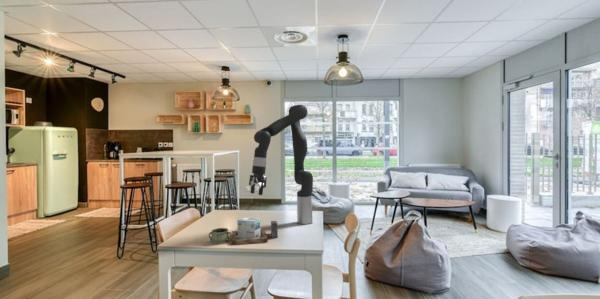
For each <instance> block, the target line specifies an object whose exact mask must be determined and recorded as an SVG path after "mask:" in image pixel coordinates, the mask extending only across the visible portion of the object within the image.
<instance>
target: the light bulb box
mask: <svg viewBox="0 0 600 299" xmlns="http://www.w3.org/2000/svg"><path fill="white" fill-rule="evenodd" d="M260 229H261V218H257V217H254V218H253V217H241V218H239V219H237V231H238V235H237V239H250V238H262V234H261V232H260Z"/></svg>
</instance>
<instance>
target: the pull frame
mask: <svg viewBox="0 0 600 299" xmlns="http://www.w3.org/2000/svg"><path fill="white" fill-rule="evenodd" d="M278 228H279V227H278V221H277V220H271V221H270V233H267V232H266V229H262V228H260V232H261V238H250V239H238V238H237V237H238V230H233V231H232V232H231V234H232V236H231V245H233V246H234V245H235V246H236V245H248V244H249V245H250V244H262V243H263V244H265V243H268V241H269V240H268V239H278V237H279V236H278V234H279V233H278Z"/></svg>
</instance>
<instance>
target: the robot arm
mask: <svg viewBox="0 0 600 299" xmlns="http://www.w3.org/2000/svg"><path fill="white" fill-rule="evenodd" d="M307 116H308V109H307V107H306V105H304V104H296V105H292V106H290V107H289V108H288V114H287V115H286V116H283V117H281V118H279V119H277V120H275V121H273V122H271V124H269V125H268V126H266V127H264V128H262V129H259V130H258V131H256V132H255V133H254V136H253V140H254V142H255V143H256V144H258V146H257V147H255V149H254V153H253V154H254V155H253V160H252V161H253V162H252V169H251V173H252V174H250V175H249V179H248V180H249V181H248V186H250V194H255V190H256V185H258V195H259V196H263V192H264V188H266V187H267V176H264V175H266V169H267V154H268V150H269V148H270V144H271V139H272V137H275V136H277V135H278V134H280V133H281V132H282V131H284V130H285V129H287V128H289V126H290V130H291V139H292V150H293V165H294V166H293V167H294V168H293V171H294V172H293V173H294V174H293V175H294V176H293V179H294V182H295V184H297V185H298V186H299V185H300V189H299V190H298V191H297V192H296V208H297V210H296V215H297V216H296V217H297V220H296V221H297V224H300V225H308V224H309V225H310V224H313V206H312V193H313V190H314V189H313V188H314V177H313V173H312V172H311V171H308V170H305V159H306V156H307V153H308V140H307V138H306V137H307V136H306V135H305V134H304V131H303V130H302V127H301V122H300V121H301V120H303V119H305V118H306V117H307Z"/></svg>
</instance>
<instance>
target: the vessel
mask: <svg viewBox="0 0 600 299" xmlns="http://www.w3.org/2000/svg"><path fill="white" fill-rule="evenodd" d="M208 237H209V240H210V241H211V242H212V243H213V244H216V245H221V244H226V243H227V242H228V241H231V239H232V232H231V231H229V229H228V228H226V227H217V228H214V229H212V230H211V231H210V232H209V234H208Z"/></svg>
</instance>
